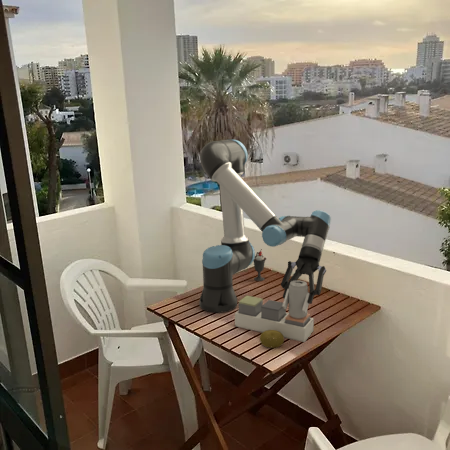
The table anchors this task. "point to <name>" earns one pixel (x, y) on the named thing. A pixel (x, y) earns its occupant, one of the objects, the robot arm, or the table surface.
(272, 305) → the key charcoal
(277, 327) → the light grey piece
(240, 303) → the key olive
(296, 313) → the beverage can
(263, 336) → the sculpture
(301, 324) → the key terracotta
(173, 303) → the table surface
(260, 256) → the sundae
